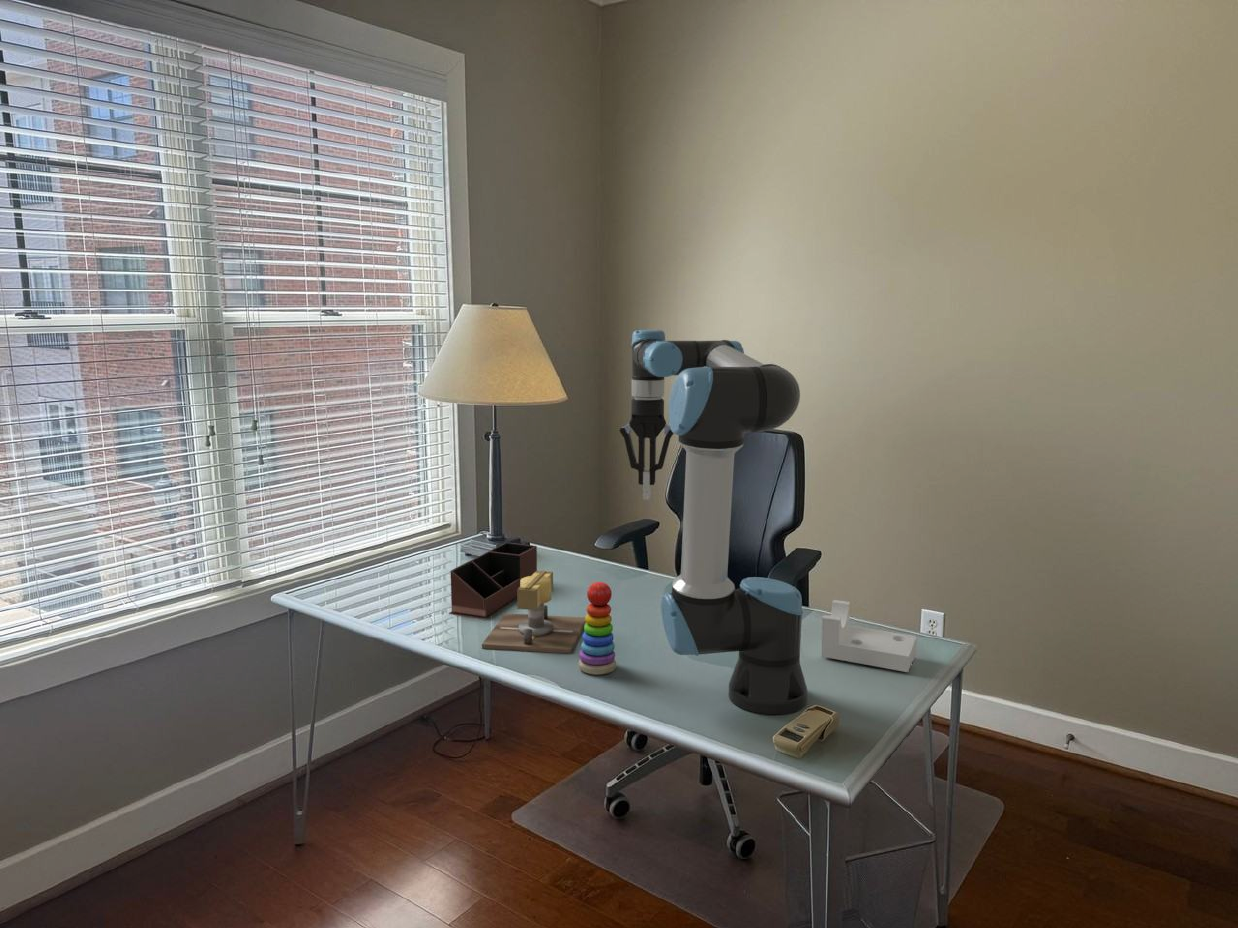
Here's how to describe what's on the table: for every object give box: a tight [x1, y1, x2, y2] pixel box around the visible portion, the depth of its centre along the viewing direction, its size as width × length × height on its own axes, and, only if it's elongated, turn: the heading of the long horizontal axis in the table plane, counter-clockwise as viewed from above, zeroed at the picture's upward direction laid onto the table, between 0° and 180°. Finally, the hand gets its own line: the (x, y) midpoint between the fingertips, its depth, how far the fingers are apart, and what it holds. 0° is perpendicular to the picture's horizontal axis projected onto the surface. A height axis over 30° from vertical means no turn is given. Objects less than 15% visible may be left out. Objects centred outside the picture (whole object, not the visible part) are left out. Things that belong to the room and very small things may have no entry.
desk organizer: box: [448, 541, 538, 620], centre depth 230 cm, size 10×29×11 cm, turn 159°
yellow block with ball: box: [516, 570, 554, 611], centre depth 204 cm, size 14×7×5 cm, turn 168°
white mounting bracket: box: [821, 599, 917, 673], centre depth 192 cm, size 18×10×10 cm, turn 63°
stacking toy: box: [577, 581, 617, 676], centre depth 185 cm, size 8×8×19 cm
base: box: [481, 603, 586, 654], centre depth 205 cm, size 20×20×8 cm
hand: (646, 498), depth 209 cm, fingers closed
